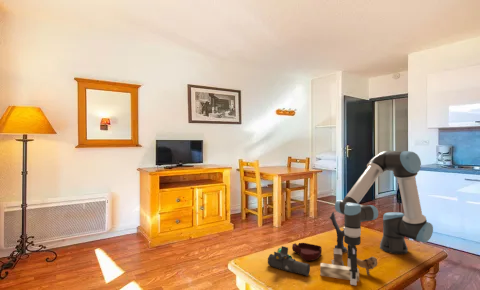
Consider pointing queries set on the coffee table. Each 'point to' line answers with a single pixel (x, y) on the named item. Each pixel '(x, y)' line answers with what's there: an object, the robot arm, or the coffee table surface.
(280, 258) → the laser sight
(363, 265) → the lion figurine
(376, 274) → the coffee table surface
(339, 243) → the antler
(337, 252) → the pedestal
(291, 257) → the candy
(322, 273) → the block
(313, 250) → the ashtray
